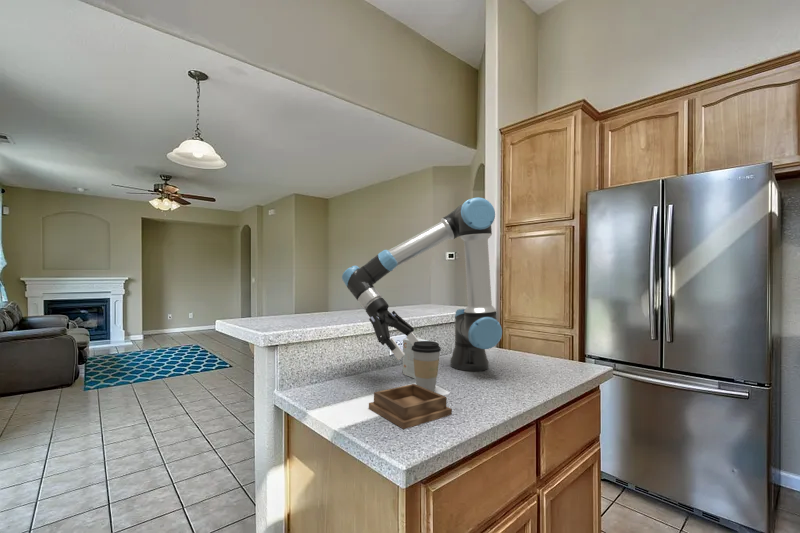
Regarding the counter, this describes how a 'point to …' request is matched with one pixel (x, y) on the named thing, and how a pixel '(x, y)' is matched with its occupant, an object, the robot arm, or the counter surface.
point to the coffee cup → (426, 363)
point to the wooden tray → (409, 405)
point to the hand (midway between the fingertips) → (411, 353)
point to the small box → (409, 358)
